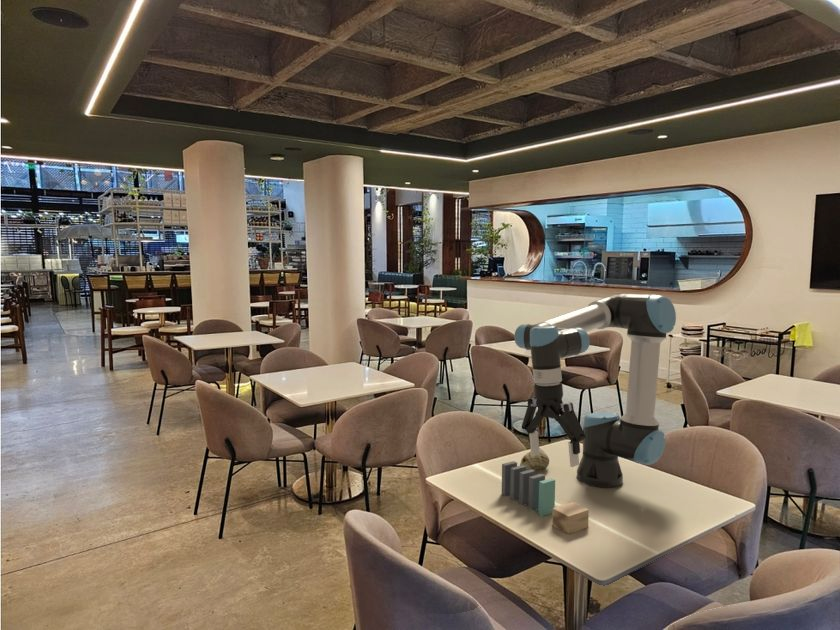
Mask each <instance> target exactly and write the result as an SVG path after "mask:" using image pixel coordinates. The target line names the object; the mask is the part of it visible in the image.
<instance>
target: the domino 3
mask: <svg viewBox="0 0 840 630" xmlns="http://www.w3.org/2000/svg"><path fill="white" fill-rule="evenodd" d="M534 475H536V470H532V469H531V470H527V471H523V472H520V488H519V499H518V501H519V502H518V503H519V505H521V506H525V505H529V477H531V476H534Z"/></svg>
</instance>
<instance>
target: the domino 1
mask: <svg viewBox="0 0 840 630" xmlns="http://www.w3.org/2000/svg"><path fill="white" fill-rule="evenodd" d="M517 466H518V462H516V460H513V461H510V462H509V461H508V462H505V463H501V495H503V496H505V495H506V496H510V482H511V468H513V467H517Z"/></svg>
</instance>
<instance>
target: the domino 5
mask: <svg viewBox="0 0 840 630" xmlns="http://www.w3.org/2000/svg"><path fill="white" fill-rule="evenodd" d="M555 501H556V479H554V478H547V479H545V480H543V481H540V482H539V509H537V510H538V515H539V516H541V517H544V516H547V515H550V514H551V515H552V514H553V508H555V506H556V505H555V504H556V502H555Z"/></svg>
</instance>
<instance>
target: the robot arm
mask: <svg viewBox="0 0 840 630" xmlns="http://www.w3.org/2000/svg"><path fill="white" fill-rule="evenodd" d="M676 321H677V312H676V309H675V306H674V304H673V302H672V301H671V299H670V298H669V297H667V296H664V295H659V294H645V293H643V294H641V293H636V294H635V293H620V294H619V293H618V294H614V295H609V296H607V297H603V298H600V299H598V300H594V301H592V302H590V303H589V304H588V306H586V307H583V308H580V309H577V310H574V311H571V312H568V313H566V314H562V315H560V316H557V317H553V318H550V319H548V320H545V321H542V322H538V323H535V324H529V323H527V324H523V323H522V324H520V325H518V327H516V329H515V331H514V334H513V337H514V342H515V345H516V346H517V347H518V348H520V349H524V350H526V351H530V354H531V364H532V376H533V383H535V384H534V385H533V390H534V397H531V398H527V407H526V411H525V413H524V417H523V420H522V424H521V430H525V431H526V433H527V438H528V439H527V440H528V443H529V447H530V452H531V456H532V457H534V456H536V455H539V454H540V451H539V448H540V442H539V432H538V431H537V429H538V427H539V425H540V424H541V422H542V420H543V419H544V418H550V419H554V421H556V422H557V423H558V425H560V427H561V428H562V430H563V431H564V433H565V435H566V436H567V438H568V439H569V441H568V442H567V443H568V453H569V467H570V468H574V467H577V466H578V467H577V469H576V479H578V481H579V482H581V483H583V484H586V485H589V486H592V487H598V488H616V487H619V486H621V485H622V484H623V479H624V478H623V477H624V475H623V472H622V469H621V464H620V462H619V458H622V459H625V460H628V461H631V462H634V463H636V464H641V465H645V466H646V465H647V466H651V465H654V464H655V463H656V462H658V461H659V459H660V458H661V456H662V454H663V453H664V451H665V447H666V441H667V440H666V439H667V438H666V434H665V433H664V432H663V431H662V430H660V429H659V426H660V423H659V421H658V420H657V419H656V418H655V415H656V413H655V411H656V399H657V389H658V377H659V363H660V352H661V343H662V342H663V341H665V339H667V334H668V333H670V332H671V333H672V331H673V330H674V327H675V325H676ZM607 328H617V329H627V331H626V332H627V333H626V336H627V338H628V337H629V339H630V341H631V342H630V343H631V344H630V356H629V368H628V369H629V370H628V378H627V379H628V383H627V394H626V404H625V405H626V406H625V413H624V414H623V415H621V416H620V415H619V413H616V412H605V411H604V412H603V411H602V412H592V413H588V414H586V415H585V416H584V419H583V426H582V425H581V423H580V421H579V419H578V417H577V414H576V412H575V410H574V408H575V407H574V403H573V402H568V403H564V402H563V397H564V387H563V384H562V383H561V382H562V381H563V377H562V368H561V367H562V365H561V359H562V358H568V357H572V356H578V355H580V354H583V353H585V352H586V351H587V350H588V349H589V348H590V342H591V340H590V336H589V334H588V332H590V331H592V330H594V329H596V330H604V329H607ZM537 408H538V409H537ZM536 409H537V410H536ZM581 441H582V456H581V458H580V457H579V454H580V453H581V445H580V444H581V443H580V442H581Z"/></svg>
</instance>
